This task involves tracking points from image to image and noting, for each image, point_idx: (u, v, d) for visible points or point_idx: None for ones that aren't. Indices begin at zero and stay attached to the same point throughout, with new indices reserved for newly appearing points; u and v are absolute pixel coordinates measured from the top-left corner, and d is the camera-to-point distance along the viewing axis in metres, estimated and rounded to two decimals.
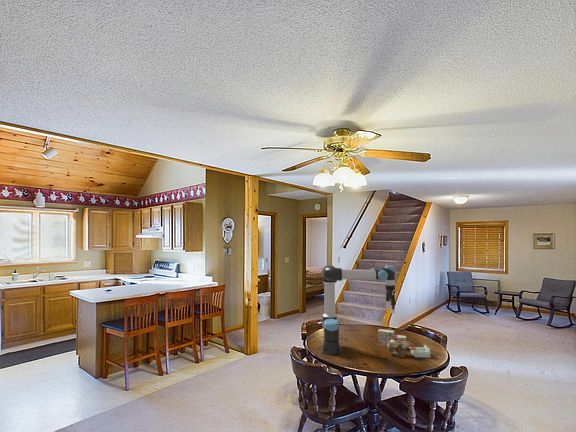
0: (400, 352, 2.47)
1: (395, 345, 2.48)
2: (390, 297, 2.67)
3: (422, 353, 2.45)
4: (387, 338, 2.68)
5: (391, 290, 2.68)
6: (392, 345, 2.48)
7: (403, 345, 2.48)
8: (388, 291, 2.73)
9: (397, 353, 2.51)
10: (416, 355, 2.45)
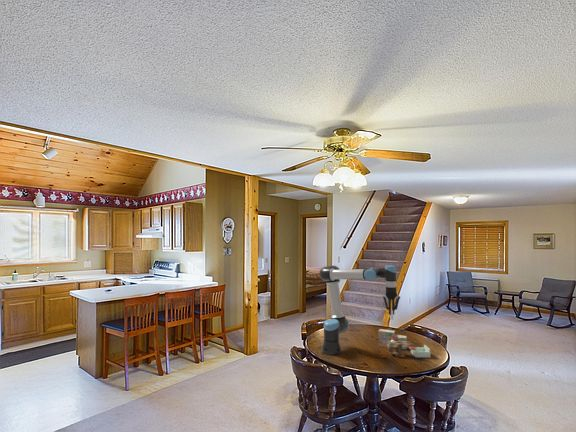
0: (400, 352, 2.47)
1: (395, 345, 2.48)
2: (388, 301, 2.47)
3: (422, 353, 2.45)
4: (387, 338, 2.68)
5: None
6: (392, 345, 2.48)
7: (403, 345, 2.48)
8: None
9: (397, 353, 2.51)
10: (416, 355, 2.45)
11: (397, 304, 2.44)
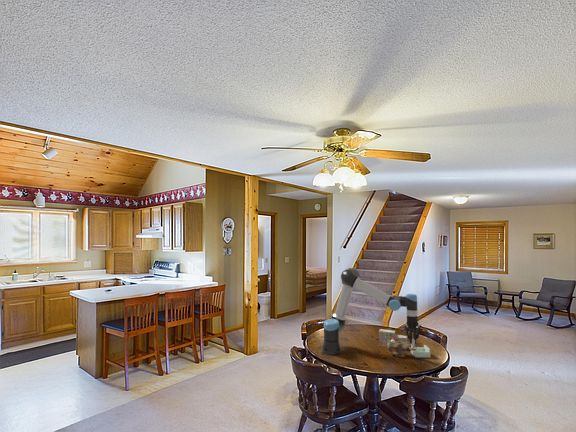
0: (400, 352, 2.47)
1: (395, 345, 2.48)
2: (409, 329, 2.46)
3: (422, 353, 2.45)
4: (388, 338, 2.67)
5: None
6: (392, 345, 2.49)
7: (403, 345, 2.48)
8: None
9: (397, 353, 2.51)
10: (416, 355, 2.45)
11: (418, 333, 2.44)
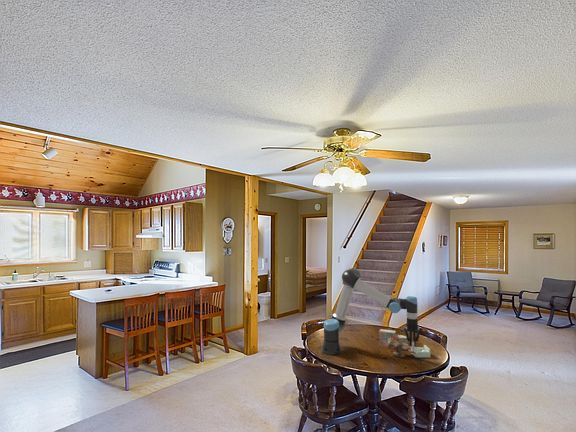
0: (400, 352, 2.47)
1: (395, 344, 2.48)
2: (409, 332, 2.46)
3: (422, 353, 2.45)
4: None
5: None
6: (393, 343, 2.49)
7: (403, 346, 2.48)
8: None
9: (397, 353, 2.51)
10: (416, 355, 2.45)
11: (418, 336, 2.44)
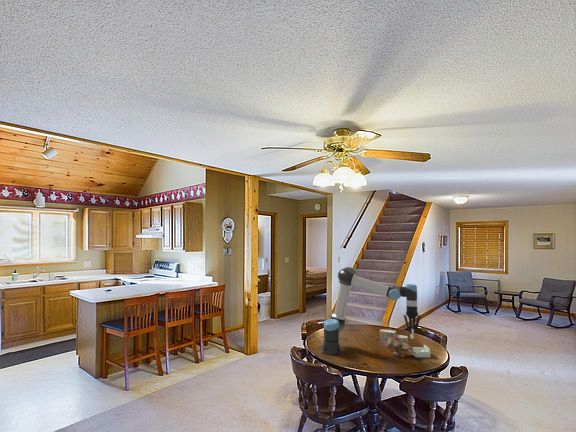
0: (400, 352, 2.47)
1: (395, 344, 2.48)
2: None
3: (422, 353, 2.45)
4: None
5: None
6: (393, 343, 2.49)
7: (403, 346, 2.48)
8: None
9: (397, 353, 2.51)
10: (416, 355, 2.45)
11: (418, 323, 2.44)
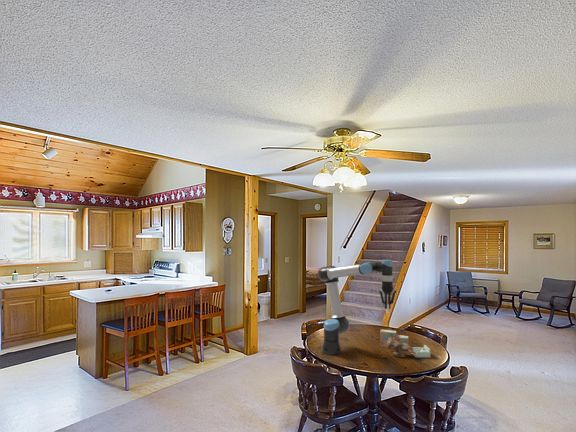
0: (400, 352, 2.47)
1: (395, 344, 2.48)
2: (384, 295, 2.47)
3: (422, 353, 2.45)
4: None
5: None
6: (393, 343, 2.49)
7: (403, 346, 2.48)
8: None
9: (397, 353, 2.51)
10: (416, 355, 2.45)
11: (393, 298, 2.45)
